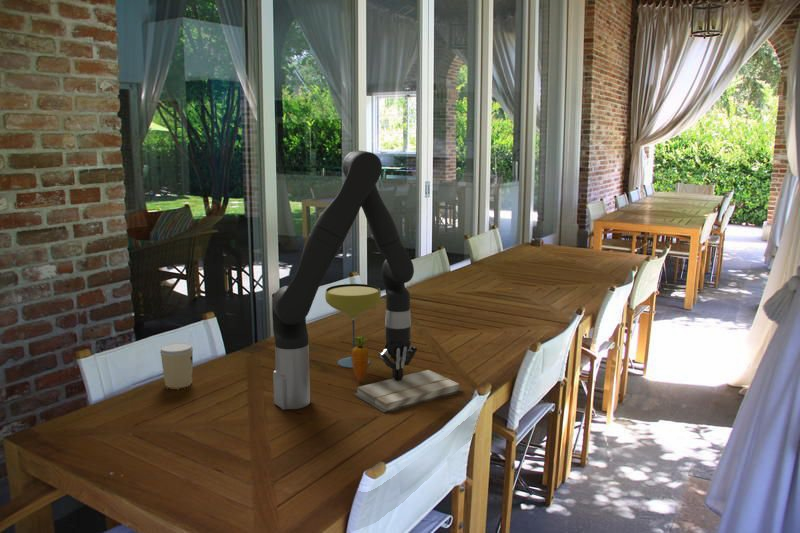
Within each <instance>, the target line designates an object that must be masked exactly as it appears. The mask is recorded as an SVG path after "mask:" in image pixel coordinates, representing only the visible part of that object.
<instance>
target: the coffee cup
mask: <svg viewBox="0 0 800 533" xmlns="http://www.w3.org/2000/svg"><path fill="white" fill-rule="evenodd" d="M193 351H194V347H193V346H192V344H191V343H188V342H173V343H168V344H165V345H163V346H162V347H161V348H160V350H159V353H160V357H161V358H160V359H161V364H162V371H163V372H162V373H163V380H164V385H166V386H168V387H176V388H177V387H185V386H188V385H190V384H191V383H192V384H193V361H194V360H193V357H194V356H193ZM166 386H165V387H166Z"/></svg>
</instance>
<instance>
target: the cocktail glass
mask: <svg viewBox="0 0 800 533" xmlns="http://www.w3.org/2000/svg"><path fill="white" fill-rule="evenodd" d="M324 292H325V294H324V296H325V297H324V298H325V301H326V303H327V305H329V306H330V307H331V308H332V309H335V310H337V311H340V312H342V313H344V314H345V315H347V317H348V318H349V319H350V320H351V321H352V323H351V324H352V349H353V348H354V347H356V343H355V341H356V339H355V338H356V337H355V320H357V319H358V317H359V316H360V315H361V314H363V313H364V312H366V311H368V310H370V309H372V308H374V307H375V306H376V305H378V304H379V303H380V301H381V296H382V295H381V294H382V292H381V288H379V287H378V286H377V285H372V284H364V283H363V284H362V283H346V284H345V283H344V284H337V285H331V286H330V287H328V288H326V290H325V291H324ZM370 364H371V360H370V359H368V366H369V365H370ZM337 365H338V366H340V367H342V368H346V369H353V363H352V356H348V357H343V358H341V359H339V360H338V361H337Z"/></svg>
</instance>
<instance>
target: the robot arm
mask: <svg viewBox="0 0 800 533" xmlns="http://www.w3.org/2000/svg"><path fill="white" fill-rule="evenodd" d="M341 168H342V172H343V175H344V176H345V179H344V182H343V184H342V186H341V188H340V190H339V192H338V193H337V194H336V196H335V197H334V199H332V201H331V202H330V203H329V204H328V205H327V207H326V208H325V209H324V210H323V211H322V212H321V213H320V214H319V216H318V218H317V220H316V221H315V222H314V224H313V226H312V228H311V230H310V232H309V234H308V235H307V237H306V240H305V243H304V245H303V250H302V254H301V257H300V259H299V260H300V261H299V264H298V266H297V267H298V268H297V270H296V272H295V274H294V276H293V278H292V280H291V281H290V283H289V285H284V286H282V287H279V289H277V290H276V292H275V293H274V294H273V297H272V301H271V312H272V314H271V315H272V330H273V337H274V350H275V351H274V353H275V354H274V356H275V358H274V359H275V370H273V372H272V374H273V375H272V379H273V403H274V405H276V406H277V407H279V408H280V409H281V410H283V411H284V410H298V409H302V408H305V407H307V406H309V405H310V403H311V391H310V390H311V389H310V388H311V386H310V385H311V384H310V350H309V347H310V346H309V333H308V328H307V318H306V317H307V316H308V315H309V313H310V311H311V307H312V305H313V302H314V300H315V298H316V294H318V293H317V292H318V291H319V288H320V285H321V284H322V282H323V280H324V278H325V276H326V274H327V273H328V271H329V269H330V267H331V266H332V265H333V262H334V260H335V258H336V257H337V255H338V253H339V251H340V249H341V247H342V246H343V245H344V242H345V240H346V238H347V236H348V233H349V231H350V230H351V228H352V225H354V224H353V223H354V222H355V220H356V217H357V216H358V213H359V212H360V209H361V208H362V211H363V213H364V215H365V218H366V221H367V224H368V226H369V228H370V231H371V235H372V238H373V240H374V242H375V245H376V247H377V250H378V252H379V253H380V254H381V255H382V256H383V257H384V259H385V260H384V261H383V264H382V269H381V275H382V282H383V287H384V291H385V296H386V297H385V317H384V318H385V319H384V320H385V321H384V322H385V323H384V332H385V334H384V336H385V337H384V339H385V345H384V349H383V351H382V352H381V351H380V352H378V357H379V358H380V359H381V360H382V361H383V363H384V364H385V365H386V366H387V367H388V368H390V369H392V379H393V378H394V380H396V381H400V380H402V378H403V376H404V368H405V366H409V365H410V363H411V361H412V360H413V357H414V356H415V354H416V352H417V351H418V348H417V347H415V346H413V345H412V343H411V341H410V340H411V336H412V335H411V334H412V331H411V330H412V329H411V326H412V325H411V322H412V321H411V320H412V318H411V317H412V316H411V315H412V314H411V295H410V292H409V290H408V289H407V288H406V285H405V284H406V283H408V282H411V280H412V279H413V277H414V273H415V268H414V263H413V260H412V259H411V257H410V255H409V253H408V251H407V250H406V248H405V246H404V245H403V243H402V241H401V237H400V234H399V232H398V230H397V226H396V224H395V221H394V218H393V217H392V215H391V213H390V210H388V208H387V206H386V204H385V203H384V201H383V199H382V197H381V195H380V193H379V190H378V188H377V185H376V184H377V183H378V182H379V179H380V177H381V175H382V171H383V166H382V161H381V159H380V158H379V156H378V155H377V154H375V153H374V152H370V151H364V150H353V151H350V152H348V153H347V154H346V156H345V157H344V158H343V160H342V166H341Z"/></svg>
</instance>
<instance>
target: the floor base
mask: <svg viewBox="0 0 800 533" xmlns="http://www.w3.org/2000/svg"><path fill="white" fill-rule="evenodd" d="M462 392H464V389H461V388H460V383H458V382H456V381H454V380H452V379H450V378H449V377H445V378H444V379H441V380H437V381H433V382H429V383H425V384H421V385H418V386H414V387H410V388H406V389H402V390H398V391H394V392H391V393H387V394H383V395H379V396H375V403H373V402H371V401H369V400H367V399H366V398H364V397H362V396H361V395H359V394H357V392H356V393H353V396H355V397H356V398H358V399H359V400H361V401H363V402H364V403H365V404H368V405H370V406H371V407H373V408H374V409H376V410H378V411H380V412H381V413H383V414H387V413H391V412H395V411H397V410H401V409H404V408H408V407H413V406H415V405H419V404H420V405H421V404H422V403H426V402H430V401H433V400H434V401H435V400H437V399H440V398H443V397H444V398H445V397H447V396H451V395H455V394H458V393H462Z"/></svg>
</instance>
